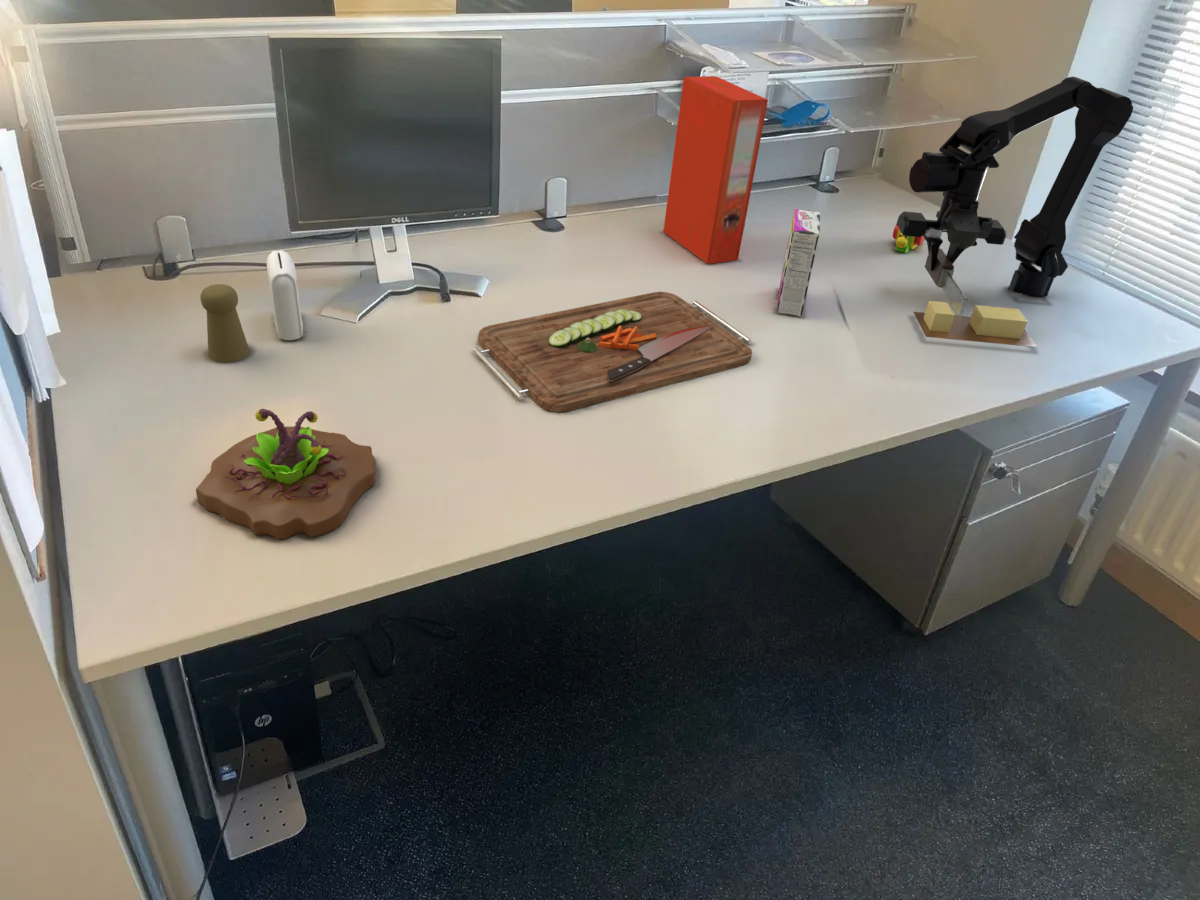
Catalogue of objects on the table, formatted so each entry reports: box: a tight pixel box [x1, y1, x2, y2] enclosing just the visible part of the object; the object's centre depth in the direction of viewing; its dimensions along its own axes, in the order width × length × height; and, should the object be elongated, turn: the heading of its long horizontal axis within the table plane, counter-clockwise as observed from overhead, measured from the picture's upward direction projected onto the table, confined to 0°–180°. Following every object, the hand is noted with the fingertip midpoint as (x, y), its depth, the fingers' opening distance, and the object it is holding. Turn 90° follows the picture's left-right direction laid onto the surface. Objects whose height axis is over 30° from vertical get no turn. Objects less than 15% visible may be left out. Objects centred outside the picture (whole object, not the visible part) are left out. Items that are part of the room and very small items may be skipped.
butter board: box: [913, 311, 1038, 348], centre depth 165 cm, size 20×10×1 cm, turn 87°
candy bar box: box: [776, 208, 821, 318], centre depth 166 cm, size 11×5×16 cm, turn 168°
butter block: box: [969, 304, 1028, 339], centre depth 164 cm, size 8×5×4 cm, turn 87°
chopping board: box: [472, 291, 753, 413], centre depth 150 cm, size 45×27×3 cm, turn 122°
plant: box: [195, 408, 377, 540], centre depth 111 cm, size 20×20×11 cm
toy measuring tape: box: [892, 223, 926, 254], centre depth 200 cm, size 6×19×7 cm, turn 145°
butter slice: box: [923, 300, 956, 332], centre depth 164 cm, size 4×5×4 cm
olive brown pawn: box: [199, 283, 251, 363], centre depth 137 cm, size 6×6×11 cm
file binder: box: [662, 75, 769, 265], centre depth 181 cm, size 8×17×32 cm, turn 28°
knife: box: [924, 248, 968, 316], centre depth 166 cm, size 2×22×4 cm, turn 177°
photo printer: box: [266, 249, 304, 341], centre depth 145 cm, size 10×4×12 cm, turn 20°
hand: (937, 270), depth 172 cm, fingers closed on knife, 2 cm apart
